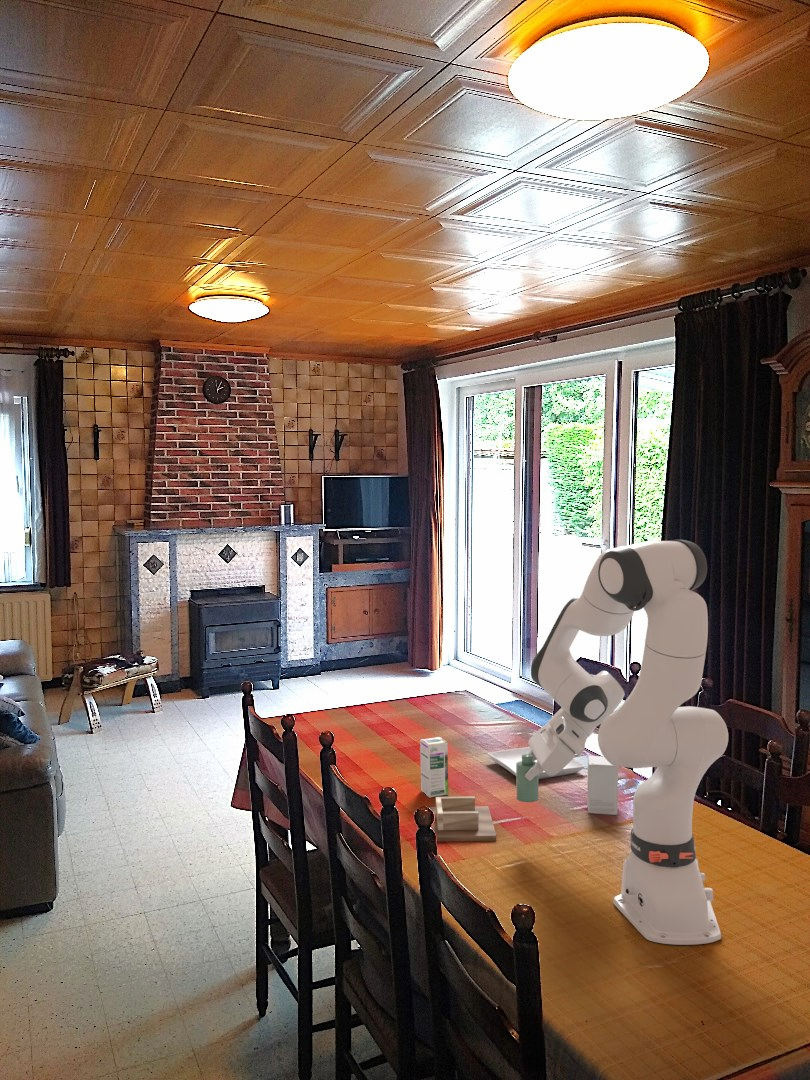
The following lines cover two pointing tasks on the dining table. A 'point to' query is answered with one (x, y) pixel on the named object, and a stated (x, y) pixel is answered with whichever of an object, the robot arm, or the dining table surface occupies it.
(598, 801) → the supplement box
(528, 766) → the green bottle
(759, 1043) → the dining table surface
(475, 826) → the u rest
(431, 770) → the syrup box
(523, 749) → the salad plate
